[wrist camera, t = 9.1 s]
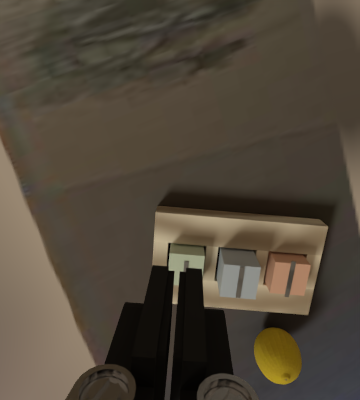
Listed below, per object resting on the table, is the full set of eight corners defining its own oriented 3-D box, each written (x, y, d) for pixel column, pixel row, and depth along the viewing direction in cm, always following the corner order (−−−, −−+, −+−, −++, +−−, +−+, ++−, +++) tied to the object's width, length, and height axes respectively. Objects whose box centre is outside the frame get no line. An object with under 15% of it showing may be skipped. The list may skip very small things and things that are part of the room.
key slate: (220, 247, 38) (224, 264, 34) (252, 249, 38) (261, 267, 34) (216, 276, 39) (219, 297, 35) (248, 278, 39) (255, 300, 35)
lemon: (287, 312, 43) (309, 357, 35) (291, 345, 44) (312, 396, 37) (246, 318, 43) (259, 363, 36) (251, 351, 45) (264, 401, 37)
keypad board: (157, 205, 39) (155, 212, 37) (319, 219, 39) (328, 226, 36) (152, 290, 42) (150, 301, 40) (301, 303, 42) (308, 315, 40)
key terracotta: (266, 243, 40) (276, 260, 35) (298, 246, 40) (311, 263, 35) (261, 275, 41) (269, 295, 37) (291, 278, 41) (304, 298, 37)
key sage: (171, 237, 40) (169, 253, 36) (203, 240, 40) (204, 256, 36) (169, 266, 41) (166, 284, 37) (199, 268, 41) (201, 287, 37)
